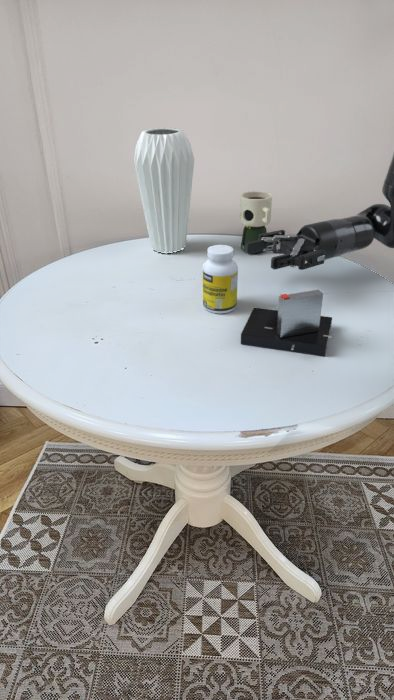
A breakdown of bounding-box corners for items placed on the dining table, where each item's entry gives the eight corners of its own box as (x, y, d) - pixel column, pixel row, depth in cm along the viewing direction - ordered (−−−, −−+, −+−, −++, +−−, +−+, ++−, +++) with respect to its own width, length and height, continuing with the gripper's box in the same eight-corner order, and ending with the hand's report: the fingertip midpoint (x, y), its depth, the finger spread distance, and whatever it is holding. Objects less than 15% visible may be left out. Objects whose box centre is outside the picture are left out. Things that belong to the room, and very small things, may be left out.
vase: (129, 250, 127) (118, 133, 113) (167, 234, 135) (161, 123, 121) (170, 263, 119) (163, 140, 105) (207, 246, 128) (206, 129, 114)
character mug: (229, 245, 128) (230, 191, 121) (254, 240, 131) (257, 187, 124) (253, 261, 120) (255, 203, 113) (279, 255, 122) (283, 199, 115)
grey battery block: (314, 326, 90) (318, 287, 86) (318, 331, 89) (323, 292, 85) (276, 333, 88) (279, 294, 85) (280, 338, 87) (283, 298, 83)
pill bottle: (195, 306, 102) (194, 248, 95) (220, 296, 105) (220, 239, 99) (219, 318, 97) (219, 259, 91) (244, 307, 101) (245, 249, 95)
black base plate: (334, 327, 94) (336, 316, 93) (326, 365, 84) (328, 354, 83) (253, 316, 98) (253, 306, 97) (236, 352, 88) (236, 340, 86)
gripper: (305, 212, 110) (238, 226, 103) (353, 232, 99) (282, 249, 93) (302, 246, 114) (238, 262, 107) (348, 269, 103) (280, 288, 97)
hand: (258, 256), depth 100 cm, fingers open, 8 cm apart
